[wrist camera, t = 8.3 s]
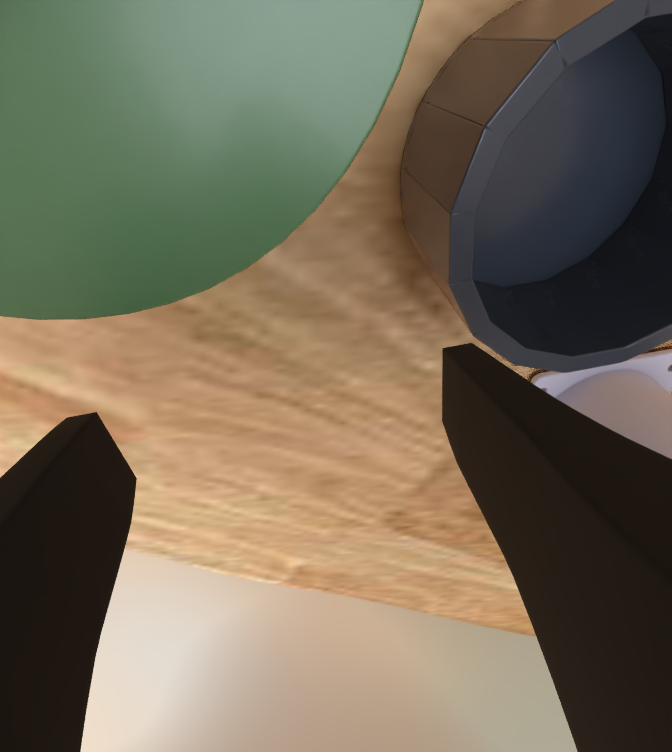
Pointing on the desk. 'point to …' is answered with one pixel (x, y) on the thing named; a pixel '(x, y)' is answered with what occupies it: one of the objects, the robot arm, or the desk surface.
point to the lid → (175, 138)
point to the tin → (551, 182)
